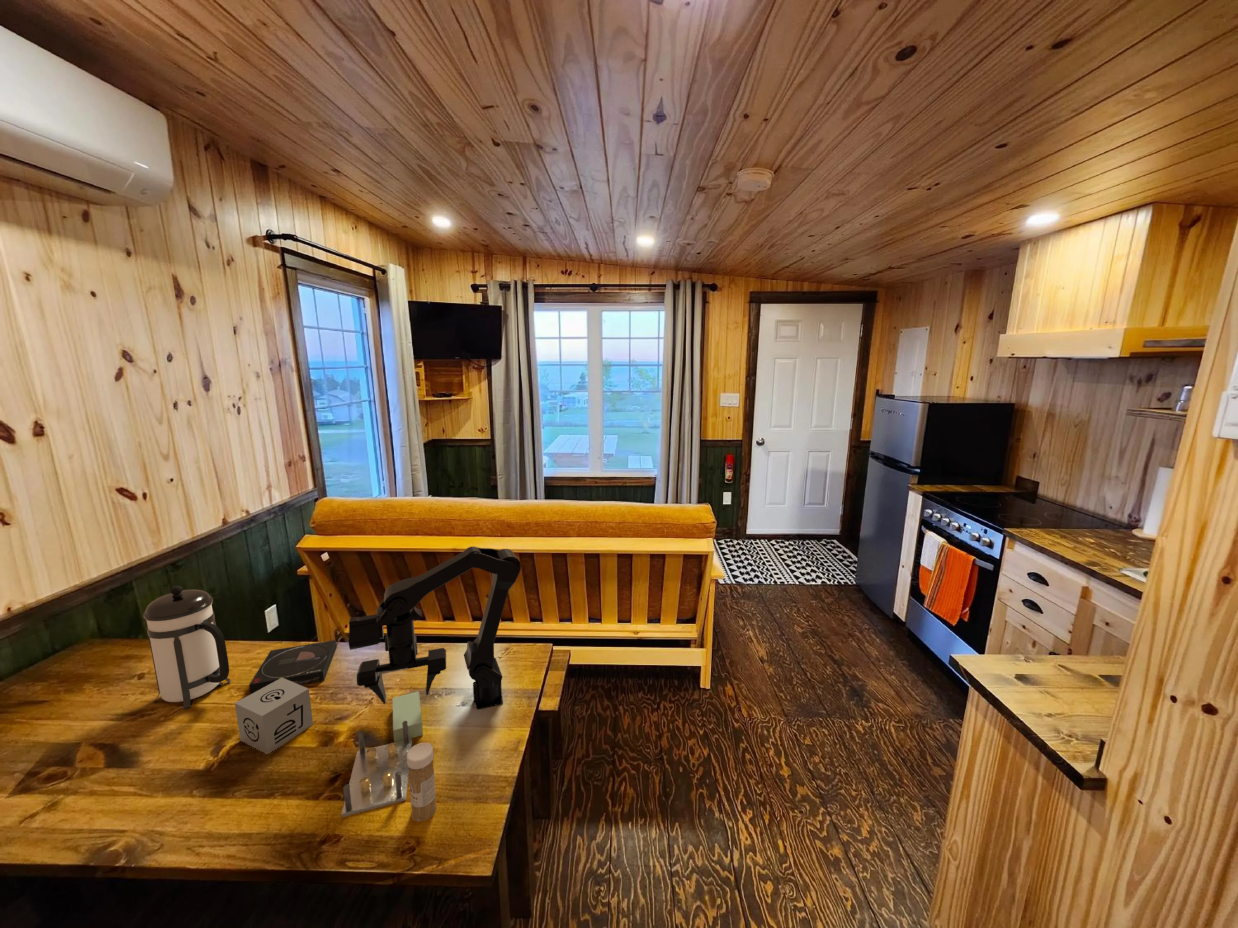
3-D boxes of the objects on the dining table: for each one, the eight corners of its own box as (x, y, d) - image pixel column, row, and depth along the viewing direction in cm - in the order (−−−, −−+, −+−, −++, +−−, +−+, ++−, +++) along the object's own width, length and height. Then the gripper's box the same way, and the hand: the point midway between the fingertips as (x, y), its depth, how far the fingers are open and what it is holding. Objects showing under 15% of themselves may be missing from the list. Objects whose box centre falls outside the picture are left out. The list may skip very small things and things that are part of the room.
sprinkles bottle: (407, 813, 89) (401, 751, 87) (429, 797, 92) (425, 737, 90) (418, 828, 86) (413, 764, 84) (441, 811, 89) (437, 749, 87)
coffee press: (141, 724, 111) (118, 607, 106) (167, 685, 125) (148, 580, 120) (233, 701, 119) (216, 591, 114) (247, 668, 133) (233, 568, 128)
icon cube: (313, 726, 111) (308, 688, 109) (267, 756, 102) (262, 716, 100) (286, 714, 115) (281, 677, 113) (240, 742, 106) (234, 702, 104)
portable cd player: (337, 650, 143) (336, 638, 142) (324, 684, 127) (323, 671, 126) (273, 661, 137) (271, 649, 136) (251, 698, 121) (249, 684, 120)
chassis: (357, 754, 103) (355, 730, 102) (412, 742, 106) (410, 719, 105) (341, 818, 88) (338, 790, 87) (405, 801, 91) (403, 774, 90)
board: (393, 712, 116) (392, 697, 116) (419, 705, 119) (418, 691, 118) (394, 745, 106) (393, 730, 105) (423, 737, 108) (422, 721, 108)
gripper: (444, 615, 119) (448, 670, 122) (362, 627, 113) (368, 685, 116) (443, 637, 109) (448, 697, 111) (353, 652, 102) (359, 715, 105)
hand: (406, 698), depth 111 cm, fingers open, 9 cm apart
